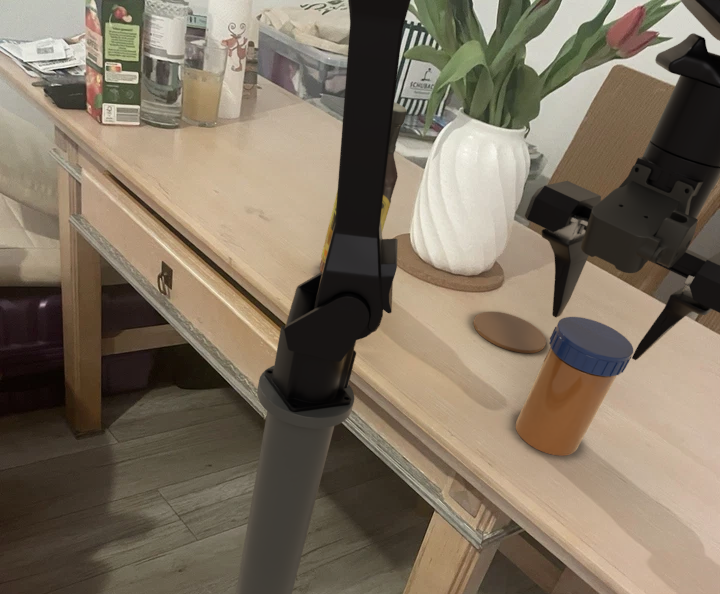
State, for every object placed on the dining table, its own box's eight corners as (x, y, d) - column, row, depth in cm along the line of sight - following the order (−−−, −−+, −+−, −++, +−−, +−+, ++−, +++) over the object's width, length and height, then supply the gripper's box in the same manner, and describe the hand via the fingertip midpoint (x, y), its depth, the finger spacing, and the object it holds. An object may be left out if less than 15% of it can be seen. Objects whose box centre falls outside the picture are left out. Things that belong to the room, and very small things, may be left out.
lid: (586, 380, 59) (596, 361, 58) (533, 337, 63) (541, 318, 62) (639, 372, 62) (650, 354, 61) (586, 332, 67) (595, 314, 65)
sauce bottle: (311, 278, 83) (347, 97, 71) (326, 260, 88) (361, 88, 75) (363, 295, 83) (408, 116, 70) (375, 276, 88) (418, 106, 75)
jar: (544, 460, 65) (593, 364, 58) (502, 420, 69) (544, 325, 62) (590, 450, 68) (642, 357, 61) (548, 411, 72) (592, 320, 65)
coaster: (504, 356, 79) (505, 353, 79) (459, 316, 84) (460, 313, 84) (559, 350, 84) (560, 347, 83) (513, 312, 89) (514, 309, 89)
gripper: (531, 112, 50) (462, 308, 60) (787, 217, 43) (660, 420, 52) (593, 109, 57) (523, 283, 67) (819, 198, 50) (703, 378, 60)
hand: (594, 336), depth 61 cm, fingers open, 8 cm apart
